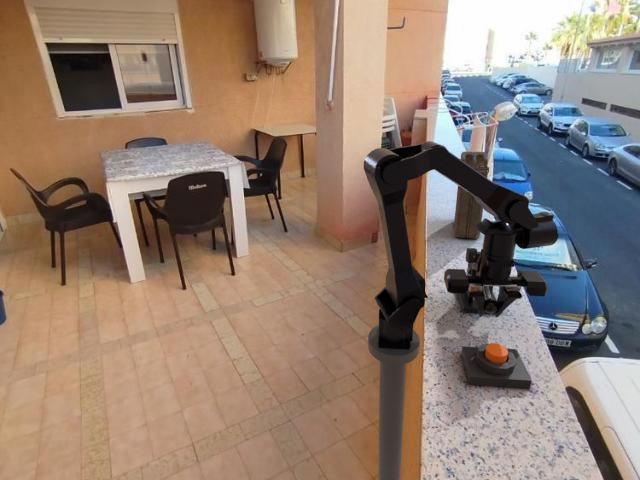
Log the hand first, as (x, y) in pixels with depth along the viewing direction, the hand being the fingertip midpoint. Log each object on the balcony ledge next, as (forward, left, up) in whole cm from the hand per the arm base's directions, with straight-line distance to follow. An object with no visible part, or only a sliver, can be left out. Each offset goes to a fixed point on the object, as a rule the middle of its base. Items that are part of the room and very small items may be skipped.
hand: (488, 315), depth 80 cm
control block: (-2, -14, -2) cm, 14 cm away
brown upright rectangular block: (+6, +53, -3) cm, 54 cm away
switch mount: (0, +9, -2) cm, 10 cm away
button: (-2, -14, +1) cm, 14 cm away
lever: (0, +5, +3) cm, 6 cm away
